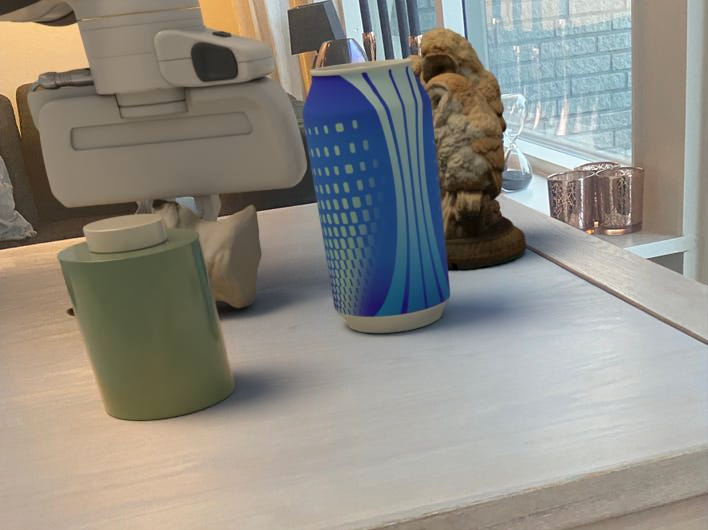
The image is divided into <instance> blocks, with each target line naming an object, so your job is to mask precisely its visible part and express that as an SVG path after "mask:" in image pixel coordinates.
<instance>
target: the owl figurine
mask: <svg viewBox="0 0 708 530" xmlns="http://www.w3.org/2000/svg"><path fill="white" fill-rule="evenodd" d="M419 49H420V55H419V54H417V55H414V54H410V55H408V57H406V58H405V59H411V60H412V61H413V65H412V70H413V71H414V73H415V75H416V76H417V78H418V79H419V81H420V82H421V84H422V85H423V87H424V89H425V90H426V92H427V93H428V95H429V97H430V99H431V106H432V116H433V126H434V136H435V146H436V156H437V166H438V176H439V186H440V196H441V206H442V216H443V226H444V236H445V246H446V256H447V266H448V270H451V269H454V265H453V264H455V265H456V267H457V268H458V269H459V270H468V269H469V270H470V269H478V268H481V267H484V266H486V267H487V266H488V267H489V266H495V265H497V264H504V263H507V262H509V261H511V260H514V259H518V258H520V257H522V256H523V255H524V254H525V252H526V249H527V242H526V236H525V233H524V231H523V230H522V229H520V228H519V227H518V226H516V225H514V222H513V221H512V220H510V219H509V218H507V217H505V216H504V215H503V213H502V212H501V204H500V201H498V200H497V197H499V196H500V195H501V194H502V189H503V172H504V171H505V166H506V157H505V152H504V149H505V148H504V143H503V134H504V133H505V132H506V131H507V128H508V125H507V122H506V120H505V118H504V116H503V114H504V111H505V106H504V103H503V102H502V91H501V86H500V83H499V81H498V79H497V77H496V76H495V73H493V72H491V71H489V70H487V69H486V68H485V66H484V64H483V62H482V61H481V60H480V58H479V55H478V53H477V51H476V50H475V48H474V47H473V46H472V43H471V42H470V41H468V39H466V38H465V36H463V35H461V34H460V33H459V32H456V31H454V30H452V29H450V28H445V27H444V28H443V27H442V28H438V27H437V28H432V29H430V30H428V31H426V32H425V33H423V35H422V37H421V38H420V42H419Z"/></svg>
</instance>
